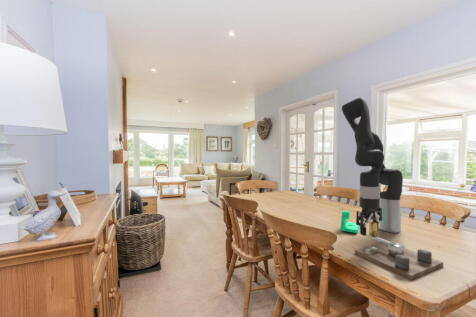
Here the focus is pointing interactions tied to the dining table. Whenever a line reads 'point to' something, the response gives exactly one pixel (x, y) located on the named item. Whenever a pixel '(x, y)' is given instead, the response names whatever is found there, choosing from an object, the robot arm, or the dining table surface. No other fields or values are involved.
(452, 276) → the dining table surface
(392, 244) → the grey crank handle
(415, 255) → the base
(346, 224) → the camera mount
